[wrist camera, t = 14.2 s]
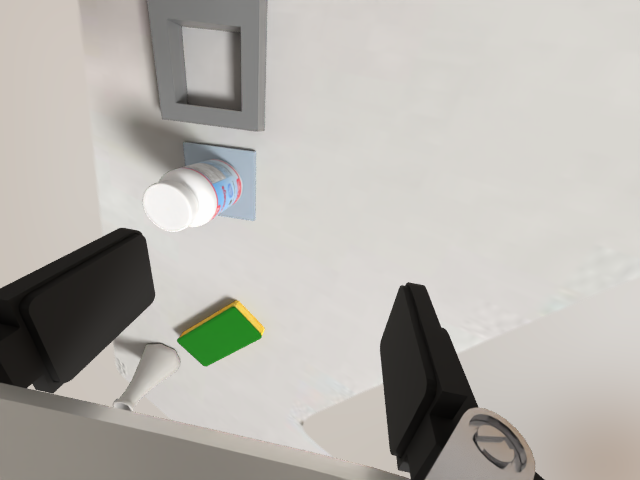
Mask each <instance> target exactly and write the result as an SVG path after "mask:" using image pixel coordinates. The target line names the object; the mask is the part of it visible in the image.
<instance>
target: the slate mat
mask: <svg viewBox="0 0 640 480" xmlns="http://www.w3.org/2000/svg"><path fill="white" fill-rule="evenodd" d="M183 147H184V157H185V166H188V165H192V164H195V163H199V162H203V161H207V160H212V159H218V160H222V161H224V162H226V163H228V164H230V165H231V166H233V167H234V168H235V169H236V170H237V172H238V173H239V175H240V177H241V180H242V185H243V188H242V194H241V196H240V198H239V199H238V201H237V202H236V203H234V204H233V205H232V206H230V207H229V208H227V209H226V210H224V211H223V212H222V213H220V214H219V215H217V216H224V217H231V218H238V219H245V220H251V221H254V220H255V195H256V151H249V150H242V149H235V148H227V147H220V146H212V145H205V144H197V143H190V142H183Z"/></svg>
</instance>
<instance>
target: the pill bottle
mask: <svg viewBox="0 0 640 480" xmlns="http://www.w3.org/2000/svg"><path fill="white" fill-rule="evenodd" d="M242 188H243V185H242V180H241V177H240V175H239V173H238V172H237V170H236V169H235V168H234V167H233V166H231V165H230V164H228V163H226V162H224V161H222V160H218V159H212V160H207V161H203V162H199V163H195V164H192V165H188V166H185V167H181V168H177V169H174V170H171V171H169V172H167V173H166V174H164V175H163V176H162V177H161V179H160V180H159V182H158V183H155V184H153V185H151V186H149V187H148V188H147V189H146V191H145V193H144V196H143V207H144V210H145V213H146V215H147V216H148V218H149V219H150V220H151V221H152V222H153V223H154V224H155V225H156V226H157V227H159V228H161V229H163V230H166V231H170V232H176V231H180V230H183V229H185V228H186V227H198V226H201V225H203V224H205V223H207V222H209V221H210V220H211V219H213V218H214V217H216V216H217V215H219V214H220V213H222V212H223V211H224V210H226V209H227V208H229V207H230V206H232V205H233V204H234V203H236V202H237V201H238V199H239V198H240V196H241V194H242Z"/></svg>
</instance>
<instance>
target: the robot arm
mask: <svg viewBox="0 0 640 480" xmlns="http://www.w3.org/2000/svg"><path fill="white" fill-rule="evenodd" d="M154 298H155V290H154V284H153V279H152V273H151V267H150V261H149V255H148V249H147V243H146V239H145V237H144V236H142V233H141V232H140V231H137V230H132V229H127V228H119V229H117V230H115V231H113V232H111V233H109V234H107V235H105V236H103V237H101V238H99V239H97V240H95V241H93V242H91V243H89V244H87V245H86V246H83V247H81V248H80V249H78V250H76V251H74V252H72V253H70V254H68V255H66V256H64V257H62V258H60V259H58V260H56V261H54V262H52V263H50V264H48V265H46V266H44V267H42V268H40V269H38V270H36V271H34V272H32V273H30V274H28V275H26V276H24V277H22V278H20V279H18V280H16V281H14V282H13V283H10V284H8V285H6V286H4V287H2V288H0V480H544V479H543V478H542V477H540V476H539V475H538V474H537V473H536V472H535V460H534V457H533V454H532V451H531V449H530V447H529V446H528V444H527V442H526V440H525V439H524V437H523V436H522V435H521V434H520V433H519V431H518V430H517V429H516V428H515V427H514V426H512V425H511V424H510V423H509V422H508V421H507V420H506V419H504V418H503V417H501V416H500V415H498V414H497V413H495V412H492V411H489V410H487V409H485V408H484V409H483V408H478V405H477V403H476V400H475V398H474V395H473V393H472V390H471V388H470V385H469V383H468V381H467V378H466V376H465V373H464V371H463V369H462V366H461V364H460V361H459V359H458V356H457V354H456V351H455V349H454V346H453V344H452V341H451V339H450V336H449V334H448V332H447V330H446V329H444V328H441V326H440V323H439V320H438V318H437V315H436V313H435V310H434V308H433V305H432V302H431V300H430V297H429V295H428V292H427V289H426V287H425V286H424V285H419V284H414V283H409V282H408V283H407V284H406V285H405V286H402V285H401V286H400V288H399V290H398V293H397V296H396V299H395V302H394V305H393V308H392V310H391V313H390V316H389V319H388V322H387V325H386V328H385V331H384V333H383V336H382V339H381V344H380V354H381V364H382V374H383V384H384V395H385V404H386V415H387V424H388V435H389V446H390V452H391V454H392V455H395V456H397V465H398V470H400V471H405V472H409V473H410V476H411V479H409V478H406V477H403V476H399V475H396V474H392V473H389V472H386V471H382V470H380V469H376V468H373V467H369V466H365V465H361V464H357V463H353V462H349V461H345V460H341V459H337V458H333V457H329V456H325V455H321V454H317V453H313V452H309V451H305V450H300V449H296V448H291V447H287V446H283V445H278V444H274V443H270V442H265V441H261V440H256V439H252V438H248V437H243V436H239V435H235V434H230V433H226V432H221V431H217V430H213V429H208V428H204V427H199V426H195V425H190V424H186V423H181V422H177V421H172V420H168V419H163V418H159V417H154V416H150V415H145V414H141V413H136V412H132V411H127V410H123V409H118V408H114V407H109V406H105V405H100V404H96V403H91V402H87V401H82V400H77V399H73V398H68V397H63V396H59V395H54V394H50V393H54V392H55V391H56V390H57V389H58V388H59V387H60V386H62V384H63V383H66V382H68V381H70V380H72V379H73V378H74V377H75V376H76V375H77V374H78V373H79V372H80V371H81V370H82V369H83V368H84V367H86V365H88V364H89V363H90V362H91V361H92V360H93V359H94V358H95V357H96V356H97V355H98V354H99V353H100V352H101V351H102V350H103V349H104V348H105V347H106V346H107V345H109V344H110V343H111V342H112V341H113V340H114V339H115V338H116V337H117V336H118V335H119V334H120V333H121V332H122V331H123V330H124V329H125V328H126V327H128V326H129V325H130V324H131V323H132V322H133V321H134V320H135V319H136V318H137V317H138V316H139V315H140V314H141V313H142V312H143V311H144V310H145V309H146V308H147V307H148V306H150V305H151V303H152V302H153V301H154ZM31 384H33V386H34V387H35V389H36V390H40V391H45V392H49V393H45V392H40V391H36V390H31V389H27V387H28V386H30V385H31Z"/></svg>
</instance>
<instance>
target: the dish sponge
mask: <svg viewBox="0 0 640 480" xmlns="http://www.w3.org/2000/svg"><path fill="white" fill-rule="evenodd" d="M263 332H264V327H263V326H262V325H261V324H260V323H259V322H258V320H257V319H256V318H255V317H254V316H253V315H252V314H251V313H250V312H249V311H248V310H247V309H246V308H245V307H244V306H243V305H242V304H241V303H240V302H239V301H234V302H233V303H231V304H229V305H228V306H226V307H224V308H223V309H221V310H219V311H218V312H216V313H214V314H213V315H211V316H209V317H208V318H206V319H204V320H203V321H201V322H199V323H198V324H196V325H194V326H193V327H191V328H189V329H188V330H186V331H184V332H183V333H182V334H181V336H180V337H179V338H178V339H177V342H178V343H179V344H180V345H181V346H182V347H183V348H185V349H186V350H187V351H188V352H189V353H190V354H191V355H192V356H193V357H194V358H196V359H197V360H198V361H199V362H200V363H201V364H202V365H203V366H208V365H210V364H212V363H214V362H216V361H218V360H220V359H222V358H224V357H226V356H228V355H230V354H232V353H233V352H235V351H237V350H239V349H241V348H243V347H245V346H247V345H249V344H251V343H253V342H255V341H257V340H259V339H261V337H262V334H263Z"/></svg>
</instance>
